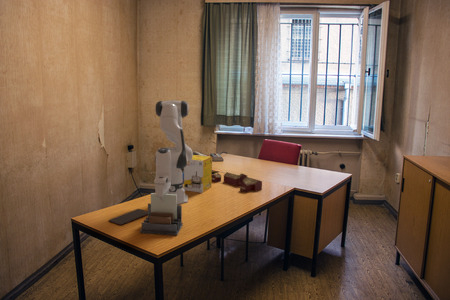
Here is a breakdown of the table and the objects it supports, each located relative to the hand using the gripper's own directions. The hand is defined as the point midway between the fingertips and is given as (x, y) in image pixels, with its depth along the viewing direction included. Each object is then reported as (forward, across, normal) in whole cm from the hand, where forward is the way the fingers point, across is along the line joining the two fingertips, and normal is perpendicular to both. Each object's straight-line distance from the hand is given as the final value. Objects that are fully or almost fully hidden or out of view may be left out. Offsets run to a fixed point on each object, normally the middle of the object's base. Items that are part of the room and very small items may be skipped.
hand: (163, 199), depth 212 cm
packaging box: (+16, -77, +7) cm, 79 cm away
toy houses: (+17, -93, +35) cm, 101 cm away
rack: (+16, +4, 0) cm, 17 cm away
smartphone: (+17, -10, -24) cm, 31 cm away
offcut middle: (+15, +4, 0) cm, 15 cm away
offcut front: (+15, +8, 0) cm, 17 cm away
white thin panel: (+15, 0, 0) cm, 15 cm away
